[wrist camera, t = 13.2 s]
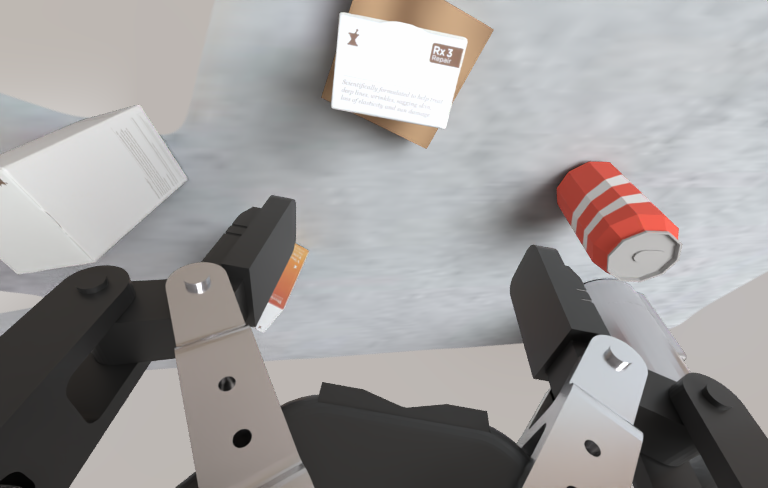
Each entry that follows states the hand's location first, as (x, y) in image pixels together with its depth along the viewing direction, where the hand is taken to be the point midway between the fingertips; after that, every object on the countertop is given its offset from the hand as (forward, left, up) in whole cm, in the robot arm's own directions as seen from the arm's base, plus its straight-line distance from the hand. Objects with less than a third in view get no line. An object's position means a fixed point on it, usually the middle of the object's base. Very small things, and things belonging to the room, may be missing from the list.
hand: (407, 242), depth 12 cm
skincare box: (+1, -1, -20) cm, 20 cm away
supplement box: (+29, +13, -25) cm, 41 cm away
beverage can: (-20, +7, -25) cm, 33 cm away
